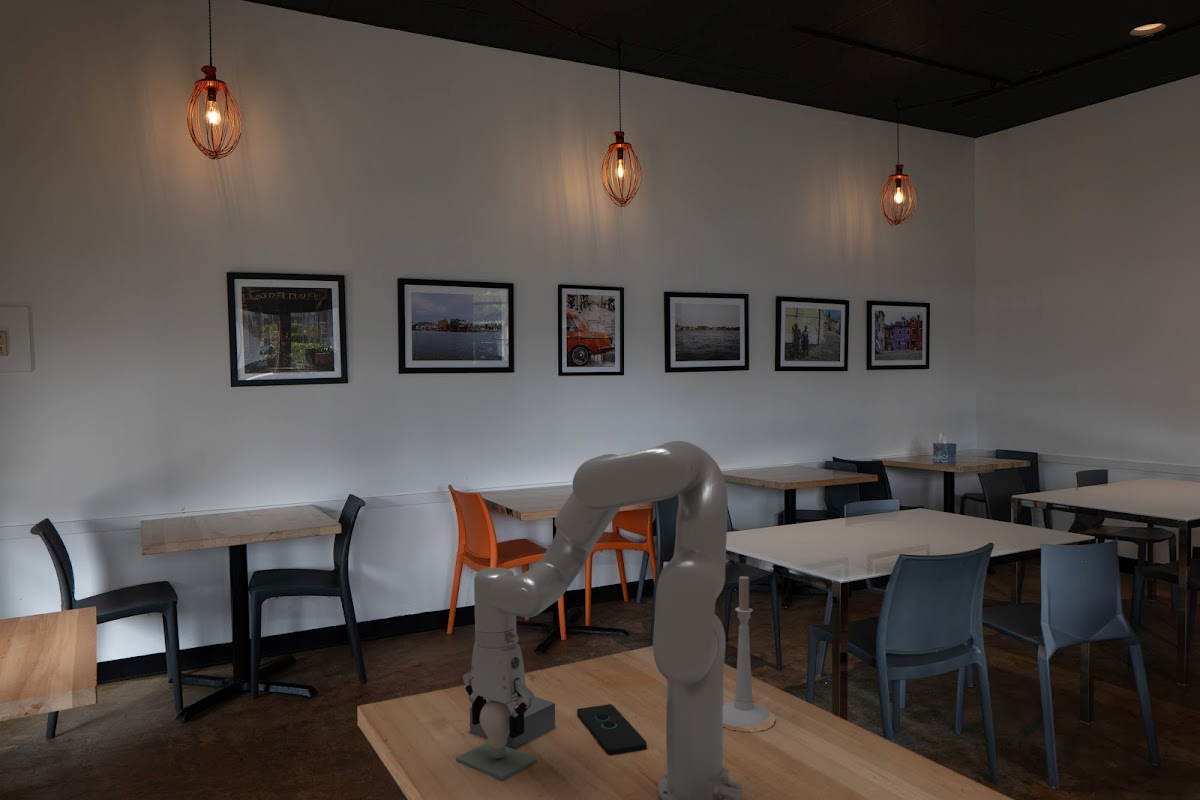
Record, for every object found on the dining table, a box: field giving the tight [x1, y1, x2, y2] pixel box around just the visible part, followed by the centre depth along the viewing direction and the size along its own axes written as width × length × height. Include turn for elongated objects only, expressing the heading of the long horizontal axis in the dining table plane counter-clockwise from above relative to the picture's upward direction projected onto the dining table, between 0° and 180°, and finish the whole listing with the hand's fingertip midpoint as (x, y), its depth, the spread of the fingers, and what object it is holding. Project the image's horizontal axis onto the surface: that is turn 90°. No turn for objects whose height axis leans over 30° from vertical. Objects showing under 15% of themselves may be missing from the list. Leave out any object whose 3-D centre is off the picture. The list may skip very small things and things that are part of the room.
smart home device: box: [576, 703, 648, 756], centre depth 166 cm, size 8×2×20 cm
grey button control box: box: [469, 695, 556, 750], centre depth 167 cm, size 12×12×6 cm
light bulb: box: [479, 700, 512, 759], centre depth 153 cm, size 7×7×11 cm
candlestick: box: [723, 574, 770, 727], centre depth 171 cm, size 13×13×30 cm
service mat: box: [455, 741, 538, 781], centre depth 154 cm, size 12×9×1 cm
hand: (498, 728), depth 153 cm, fingers open, 9 cm apart
